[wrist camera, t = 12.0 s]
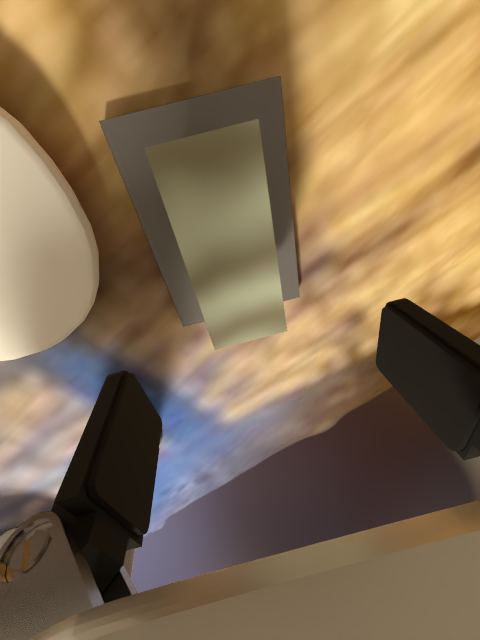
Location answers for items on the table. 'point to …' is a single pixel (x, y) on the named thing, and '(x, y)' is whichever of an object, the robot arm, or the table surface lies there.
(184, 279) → the peg stand
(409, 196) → the table surface
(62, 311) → the plate
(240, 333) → the pale green rectangular block
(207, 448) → the table surface
